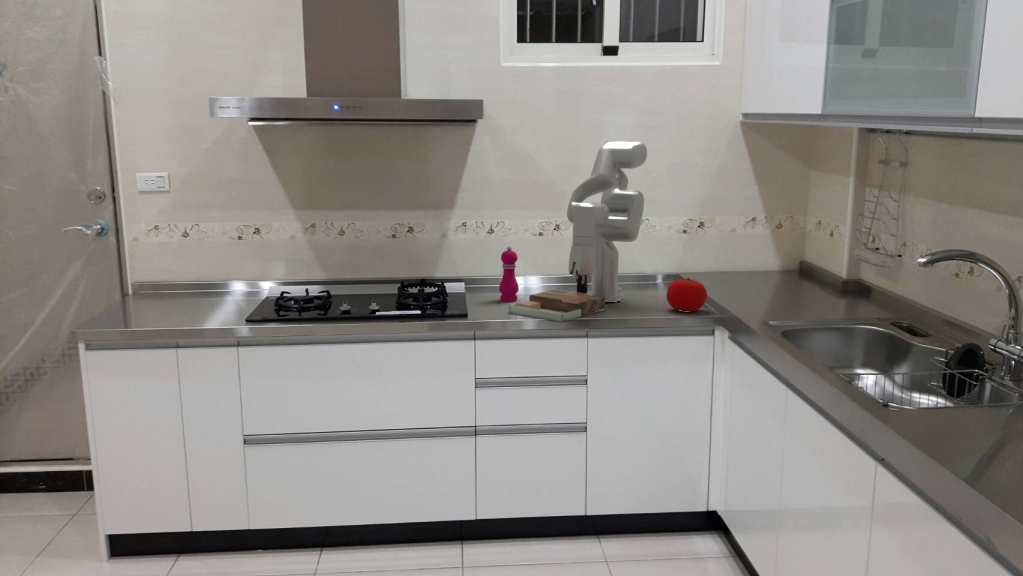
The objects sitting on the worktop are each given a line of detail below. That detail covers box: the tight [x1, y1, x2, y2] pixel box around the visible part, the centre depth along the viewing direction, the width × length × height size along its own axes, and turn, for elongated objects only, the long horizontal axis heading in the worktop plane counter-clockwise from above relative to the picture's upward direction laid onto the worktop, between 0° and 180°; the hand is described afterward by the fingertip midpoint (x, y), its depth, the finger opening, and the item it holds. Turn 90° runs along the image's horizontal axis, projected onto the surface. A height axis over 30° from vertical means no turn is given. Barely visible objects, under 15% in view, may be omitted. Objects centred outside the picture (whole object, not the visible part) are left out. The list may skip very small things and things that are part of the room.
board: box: [528, 289, 605, 317], centre depth 278 cm, size 14×22×4 cm, turn 52°
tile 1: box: [515, 300, 541, 310], centre depth 272 cm, size 6×6×2 cm
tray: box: [508, 303, 582, 323], centre depth 268 cm, size 11×22×2 cm, turn 52°
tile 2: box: [562, 290, 588, 304], centre depth 268 cm, size 6×6×2 cm
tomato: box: [665, 277, 708, 312], centre depth 276 cm, size 13×14×12 cm
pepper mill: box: [498, 245, 520, 303], centre depth 291 cm, size 7×7×20 cm
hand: (581, 294), depth 272 cm, fingers closed
